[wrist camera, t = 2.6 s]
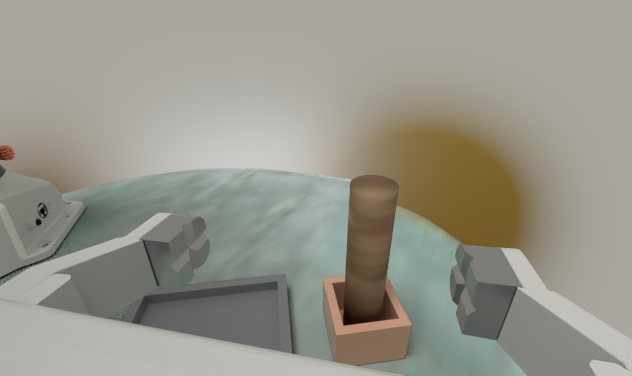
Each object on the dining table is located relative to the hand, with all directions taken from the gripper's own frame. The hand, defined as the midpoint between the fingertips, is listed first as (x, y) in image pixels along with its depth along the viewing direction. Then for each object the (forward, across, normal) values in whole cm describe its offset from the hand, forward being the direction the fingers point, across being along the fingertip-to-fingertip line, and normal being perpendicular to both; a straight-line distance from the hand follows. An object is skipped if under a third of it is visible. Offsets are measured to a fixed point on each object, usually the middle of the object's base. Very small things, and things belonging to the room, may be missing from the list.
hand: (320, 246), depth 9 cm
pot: (+13, -1, +20) cm, 24 cm away
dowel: (+13, -1, +20) cm, 24 cm away
